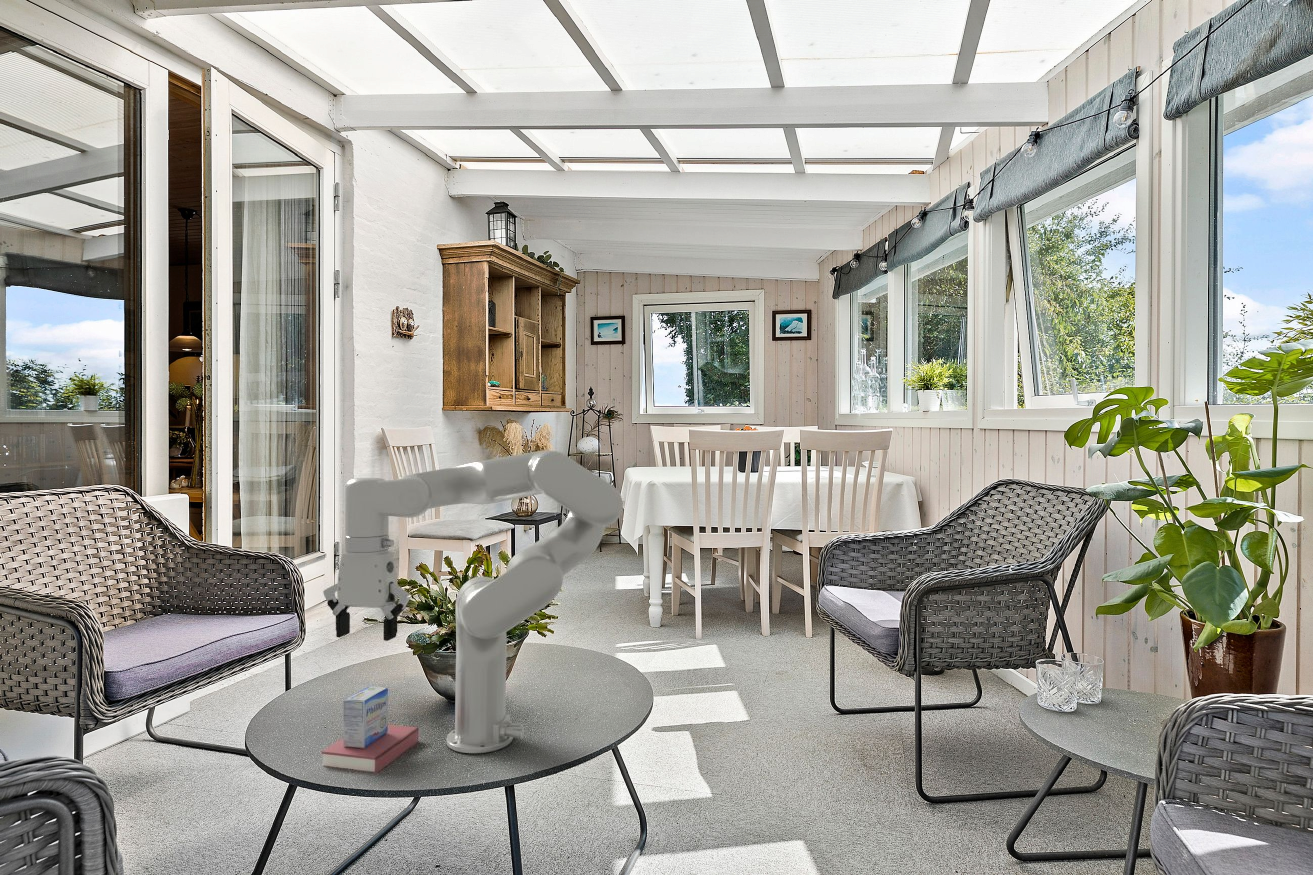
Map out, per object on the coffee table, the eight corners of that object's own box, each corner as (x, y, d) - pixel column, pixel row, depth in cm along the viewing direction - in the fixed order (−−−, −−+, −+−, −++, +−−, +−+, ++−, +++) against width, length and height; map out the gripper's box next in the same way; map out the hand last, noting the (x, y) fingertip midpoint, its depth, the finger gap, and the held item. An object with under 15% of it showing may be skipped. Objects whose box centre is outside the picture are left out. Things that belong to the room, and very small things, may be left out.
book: (418, 743, 145) (418, 727, 145) (376, 774, 132) (376, 757, 132) (367, 737, 148) (367, 722, 148) (321, 768, 134) (321, 751, 134)
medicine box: (364, 749, 135) (364, 701, 135) (341, 747, 136) (342, 699, 136) (388, 732, 143) (389, 687, 143) (367, 730, 144) (368, 685, 144)
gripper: (420, 543, 141) (419, 635, 141) (338, 540, 145) (337, 629, 145) (398, 549, 134) (397, 645, 134) (312, 545, 137) (311, 639, 137)
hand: (366, 637), depth 139 cm, fingers open, 9 cm apart
